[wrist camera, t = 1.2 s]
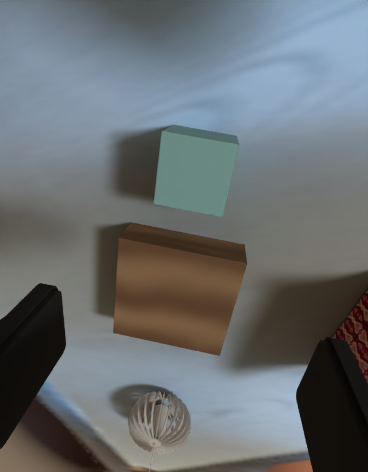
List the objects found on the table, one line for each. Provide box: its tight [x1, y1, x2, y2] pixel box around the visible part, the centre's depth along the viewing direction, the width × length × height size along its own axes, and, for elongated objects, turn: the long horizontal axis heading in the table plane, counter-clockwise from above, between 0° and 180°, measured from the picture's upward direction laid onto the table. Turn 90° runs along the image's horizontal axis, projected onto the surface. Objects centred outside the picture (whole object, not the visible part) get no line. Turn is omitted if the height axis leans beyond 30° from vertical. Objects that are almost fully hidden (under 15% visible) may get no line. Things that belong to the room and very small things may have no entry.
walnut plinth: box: [113, 222, 247, 356], centre depth 33 cm, size 13×13×4 cm
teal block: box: [154, 125, 239, 217], centre depth 26 cm, size 6×6×6 cm
